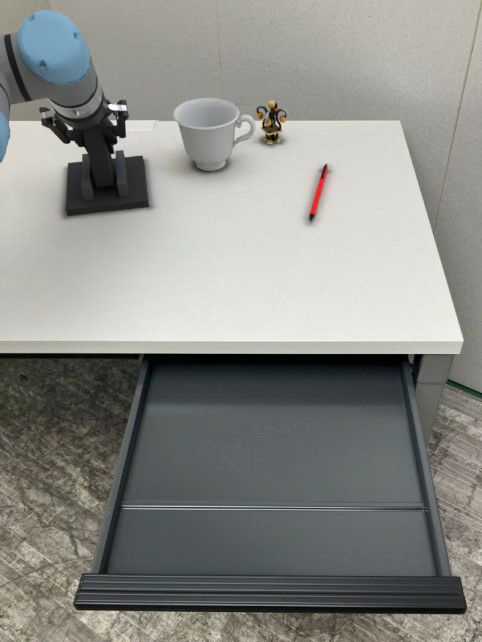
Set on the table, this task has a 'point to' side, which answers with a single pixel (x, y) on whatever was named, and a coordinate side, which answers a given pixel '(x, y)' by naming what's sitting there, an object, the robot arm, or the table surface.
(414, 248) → the table surface
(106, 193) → the base pad
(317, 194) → the pen
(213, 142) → the teacup
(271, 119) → the figurine
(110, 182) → the foam pad
